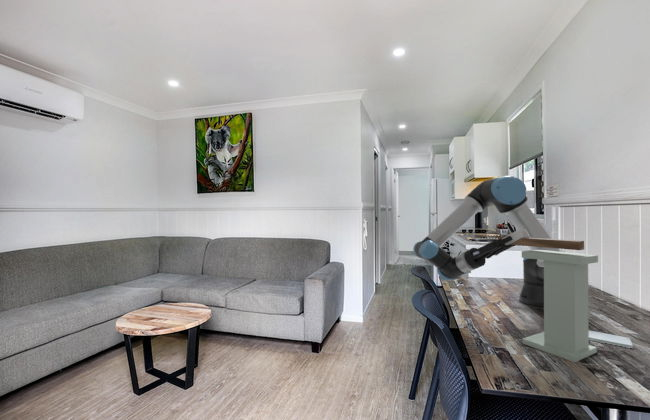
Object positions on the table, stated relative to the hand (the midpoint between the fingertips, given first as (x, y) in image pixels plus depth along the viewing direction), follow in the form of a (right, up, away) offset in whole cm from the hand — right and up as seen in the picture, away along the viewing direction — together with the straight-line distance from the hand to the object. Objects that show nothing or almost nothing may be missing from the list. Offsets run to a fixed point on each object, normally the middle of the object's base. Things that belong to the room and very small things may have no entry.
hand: (524, 233), depth 103 cm
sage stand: (+5, -34, -9) cm, 36 cm away
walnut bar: (+2, -4, -3) cm, 6 cm away
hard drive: (+25, -35, -3) cm, 43 cm away
